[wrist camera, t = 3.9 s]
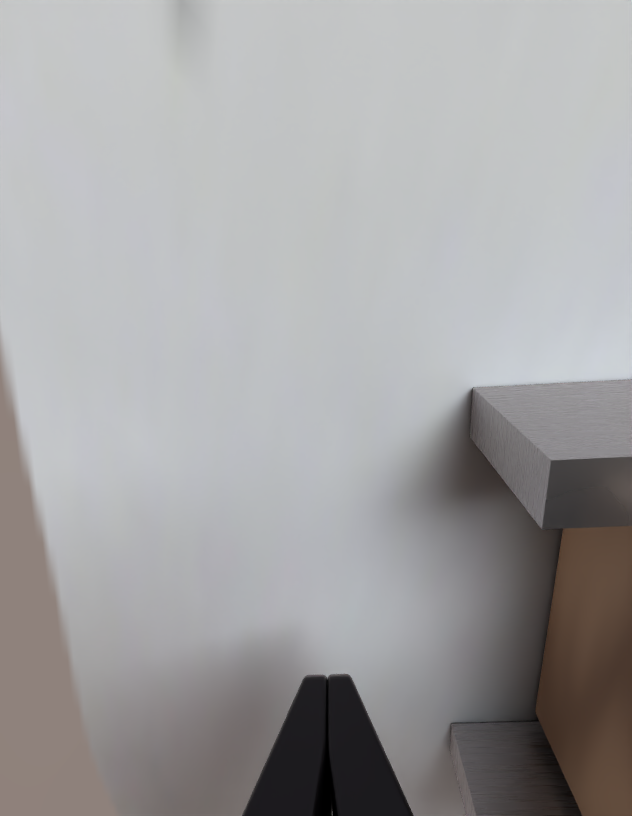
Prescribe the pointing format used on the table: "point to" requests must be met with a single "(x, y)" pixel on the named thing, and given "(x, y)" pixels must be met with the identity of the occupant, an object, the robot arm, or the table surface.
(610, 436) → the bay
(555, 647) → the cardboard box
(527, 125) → the table surface
